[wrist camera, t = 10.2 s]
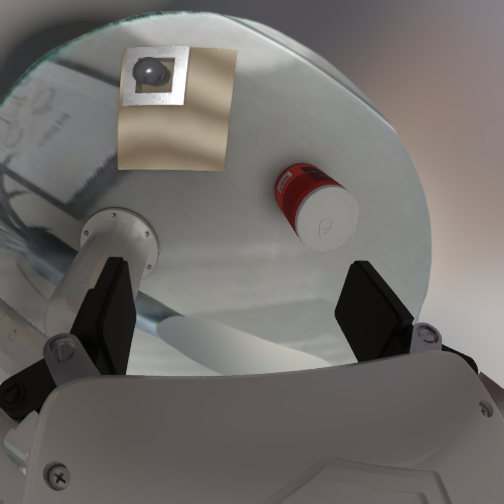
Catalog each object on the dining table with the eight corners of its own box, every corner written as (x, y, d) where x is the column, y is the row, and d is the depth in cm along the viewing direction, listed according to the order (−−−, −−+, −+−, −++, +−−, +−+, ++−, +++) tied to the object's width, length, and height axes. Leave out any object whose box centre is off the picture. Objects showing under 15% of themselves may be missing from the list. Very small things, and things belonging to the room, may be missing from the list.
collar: (185, 104, 31) (183, 104, 28) (130, 105, 29) (122, 105, 26) (191, 51, 27) (189, 46, 24) (135, 52, 26) (127, 48, 23)
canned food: (277, 219, 42) (299, 259, 32) (269, 167, 38) (292, 193, 28) (326, 209, 42) (359, 244, 33) (322, 158, 38) (359, 181, 29)
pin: (170, 86, 29) (159, 83, 22) (147, 87, 29) (131, 84, 22) (171, 65, 28) (162, 56, 21) (149, 66, 27) (133, 57, 20)
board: (223, 169, 37) (223, 171, 36) (120, 167, 34) (118, 169, 33) (236, 51, 29) (237, 50, 28) (126, 51, 26) (123, 49, 25)
